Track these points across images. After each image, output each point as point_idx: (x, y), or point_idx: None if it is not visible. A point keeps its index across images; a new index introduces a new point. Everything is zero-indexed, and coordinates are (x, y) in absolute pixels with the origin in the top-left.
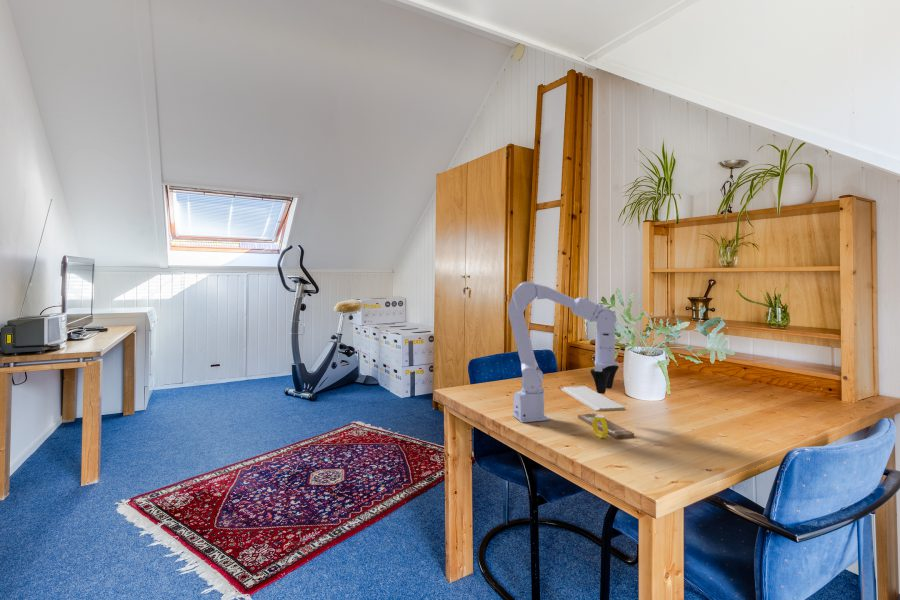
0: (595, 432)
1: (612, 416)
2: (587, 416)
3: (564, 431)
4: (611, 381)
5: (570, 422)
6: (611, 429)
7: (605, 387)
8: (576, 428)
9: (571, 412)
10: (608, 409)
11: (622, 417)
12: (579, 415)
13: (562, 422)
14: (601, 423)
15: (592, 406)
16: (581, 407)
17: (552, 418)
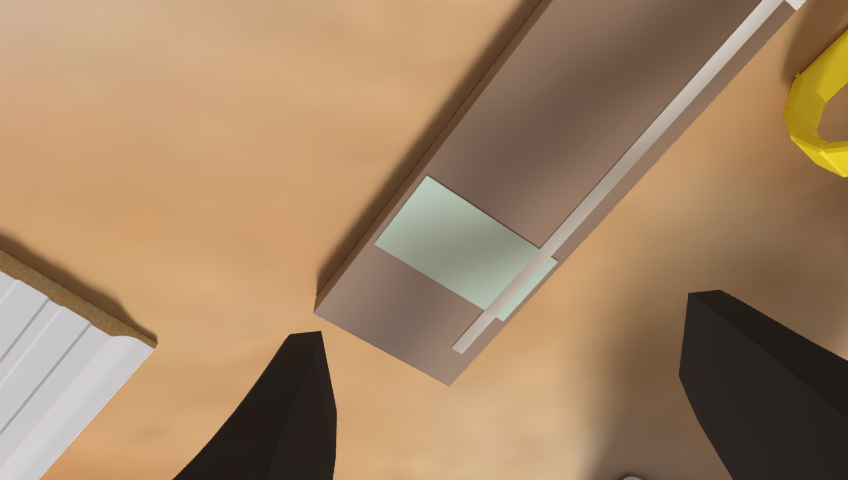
0: (819, 111)
1: (193, 182)
2: (443, 319)
3: (823, 311)
4: (297, 414)
5: (589, 363)
6: (715, 14)
7: (798, 335)
8: (713, 278)
9: (338, 452)
10: (38, 281)
11: (147, 96)
12: (457, 372)
13: (621, 400)
14: (577, 156)
15: (73, 407)
16: (150, 455)
17: (567, 476)
